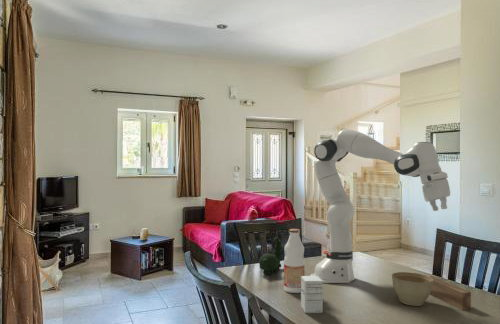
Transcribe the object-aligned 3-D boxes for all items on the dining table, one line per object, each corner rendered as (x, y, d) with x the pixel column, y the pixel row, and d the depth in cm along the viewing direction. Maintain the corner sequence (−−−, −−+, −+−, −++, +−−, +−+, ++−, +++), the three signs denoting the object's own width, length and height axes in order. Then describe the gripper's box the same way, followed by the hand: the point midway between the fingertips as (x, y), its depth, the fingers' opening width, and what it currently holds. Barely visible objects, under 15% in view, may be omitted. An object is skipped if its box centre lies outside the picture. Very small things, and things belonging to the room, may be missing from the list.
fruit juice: (293, 294, 178) (293, 231, 178) (279, 289, 186) (280, 229, 186) (308, 291, 184) (309, 230, 184) (294, 286, 191) (295, 227, 192)
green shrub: (270, 269, 228) (253, 276, 205) (271, 235, 230) (255, 239, 207) (286, 271, 224) (271, 278, 201) (287, 237, 226) (272, 240, 203)
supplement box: (300, 306, 164) (300, 275, 164) (318, 306, 164) (318, 275, 164) (304, 313, 156) (304, 280, 156) (323, 312, 157) (323, 280, 157)
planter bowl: (429, 312, 159) (429, 284, 159) (387, 304, 167) (387, 278, 167) (435, 300, 172) (435, 275, 172) (396, 294, 181) (396, 269, 181)
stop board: (462, 310, 161) (462, 292, 161) (424, 291, 184) (424, 276, 184) (470, 309, 162) (470, 292, 162) (431, 291, 185) (432, 276, 185)
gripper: (416, 182, 182) (424, 212, 179) (433, 175, 162) (441, 209, 159) (430, 180, 182) (438, 210, 179) (448, 172, 162) (457, 206, 159)
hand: (440, 209), depth 169 cm, fingers open, 8 cm apart
